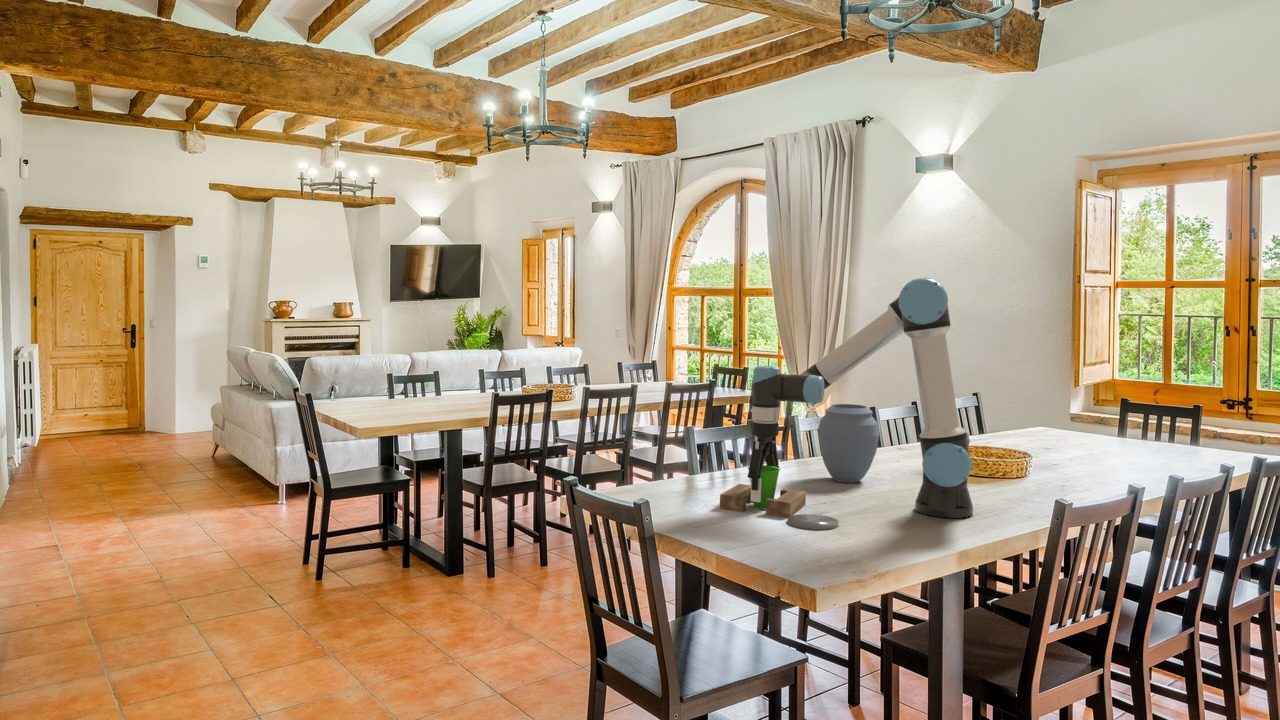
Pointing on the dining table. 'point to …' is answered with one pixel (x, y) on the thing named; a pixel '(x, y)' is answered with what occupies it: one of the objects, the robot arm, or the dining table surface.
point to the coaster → (813, 522)
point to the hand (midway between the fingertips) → (763, 496)
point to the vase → (848, 441)
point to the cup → (767, 484)
